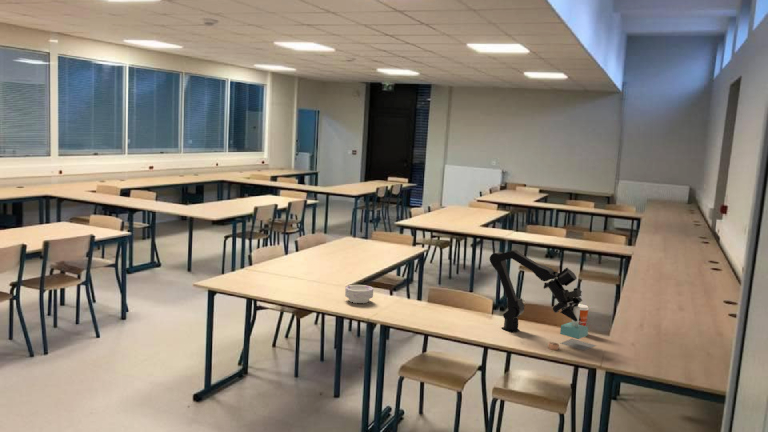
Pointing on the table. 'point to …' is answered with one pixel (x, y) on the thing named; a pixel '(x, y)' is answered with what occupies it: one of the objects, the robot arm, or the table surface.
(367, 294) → the light grey bowl
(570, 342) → the grey mat
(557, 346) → the terracotta bowl
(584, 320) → the paper cup
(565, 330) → the teal cover
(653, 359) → the table surface
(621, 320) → the table surface
